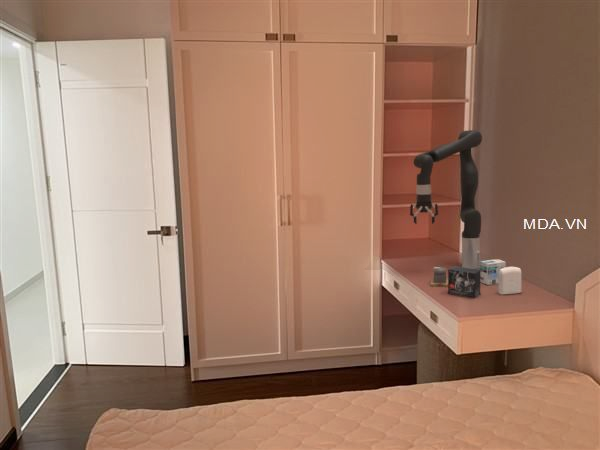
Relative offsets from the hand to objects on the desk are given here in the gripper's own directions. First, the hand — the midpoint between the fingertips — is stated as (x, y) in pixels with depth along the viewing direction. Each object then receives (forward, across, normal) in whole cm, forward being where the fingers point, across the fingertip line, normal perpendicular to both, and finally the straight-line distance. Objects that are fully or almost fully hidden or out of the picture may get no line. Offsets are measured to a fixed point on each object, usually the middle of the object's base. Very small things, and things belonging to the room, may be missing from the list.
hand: (424, 223), depth 253 cm
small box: (+28, -19, +31) cm, 46 cm away
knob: (+27, -8, +15) cm, 32 cm away
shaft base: (+28, -9, +15) cm, 33 cm away
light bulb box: (+28, -33, +10) cm, 45 cm away
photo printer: (+28, -39, +27) cm, 55 cm away
